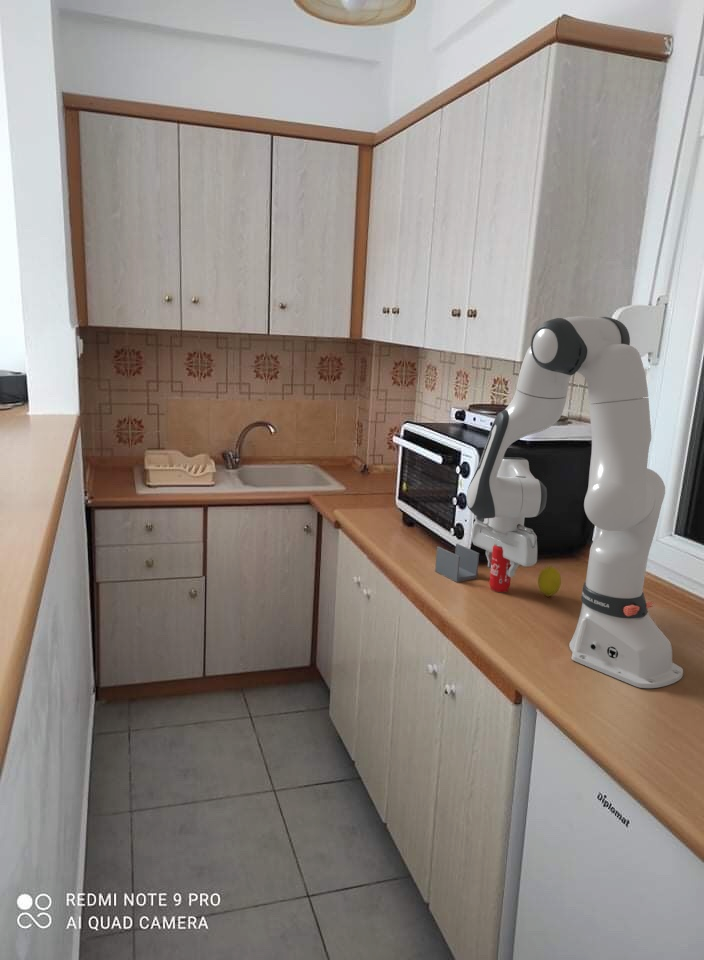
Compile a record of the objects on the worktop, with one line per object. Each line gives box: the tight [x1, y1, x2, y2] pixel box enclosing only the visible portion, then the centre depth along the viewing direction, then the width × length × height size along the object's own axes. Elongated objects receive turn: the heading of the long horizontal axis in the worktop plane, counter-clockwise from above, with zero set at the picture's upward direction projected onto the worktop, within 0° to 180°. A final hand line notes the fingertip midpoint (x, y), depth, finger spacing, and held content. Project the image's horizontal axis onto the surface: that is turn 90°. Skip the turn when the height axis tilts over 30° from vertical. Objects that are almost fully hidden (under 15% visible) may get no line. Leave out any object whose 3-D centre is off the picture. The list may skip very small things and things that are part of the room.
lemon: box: [537, 565, 562, 597], centre depth 179 cm, size 6×6×8 cm
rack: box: [434, 543, 480, 583], centre depth 191 cm, size 9×7×7 cm
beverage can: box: [488, 544, 512, 593], centre depth 182 cm, size 5×5×12 cm
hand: (500, 572), depth 182 cm, fingers closed on beverage can, 5 cm apart
